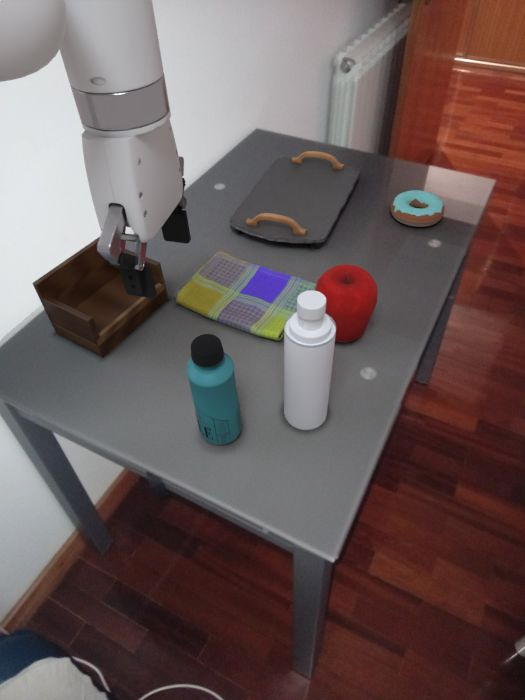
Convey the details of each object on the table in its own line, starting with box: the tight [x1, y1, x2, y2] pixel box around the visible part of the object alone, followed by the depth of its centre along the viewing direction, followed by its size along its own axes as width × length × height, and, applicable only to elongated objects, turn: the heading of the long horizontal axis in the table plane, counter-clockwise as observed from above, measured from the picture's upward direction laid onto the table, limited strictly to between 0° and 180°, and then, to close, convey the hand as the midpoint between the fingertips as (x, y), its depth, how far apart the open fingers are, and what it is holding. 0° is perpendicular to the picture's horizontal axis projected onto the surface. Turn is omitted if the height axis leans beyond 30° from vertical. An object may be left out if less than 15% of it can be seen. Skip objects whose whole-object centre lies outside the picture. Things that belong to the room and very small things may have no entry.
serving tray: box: [228, 150, 362, 250], centre depth 116 cm, size 39×23×6 cm, turn 159°
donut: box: [390, 189, 445, 228], centre depth 112 cm, size 12×12×4 cm
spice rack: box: [32, 236, 169, 359], centre depth 89 cm, size 18×12×12 cm, turn 148°
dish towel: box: [174, 250, 317, 342], centre depth 95 cm, size 18×24×3 cm
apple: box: [315, 263, 379, 343], centre depth 84 cm, size 11×10×14 cm
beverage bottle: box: [185, 333, 243, 446], centre depth 67 cm, size 6×7×20 cm
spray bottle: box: [283, 290, 336, 431], centre depth 68 cm, size 7×7×25 cm
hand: (160, 266), depth 53 cm, fingers open, 9 cm apart
